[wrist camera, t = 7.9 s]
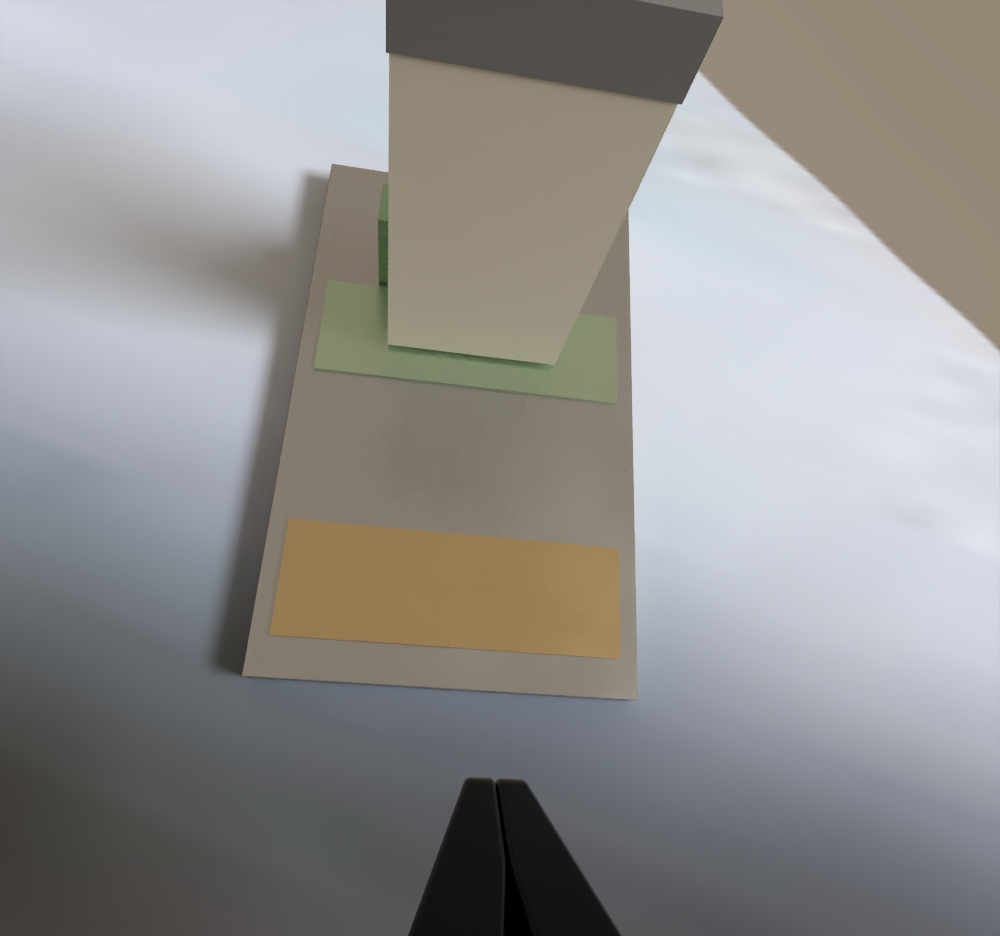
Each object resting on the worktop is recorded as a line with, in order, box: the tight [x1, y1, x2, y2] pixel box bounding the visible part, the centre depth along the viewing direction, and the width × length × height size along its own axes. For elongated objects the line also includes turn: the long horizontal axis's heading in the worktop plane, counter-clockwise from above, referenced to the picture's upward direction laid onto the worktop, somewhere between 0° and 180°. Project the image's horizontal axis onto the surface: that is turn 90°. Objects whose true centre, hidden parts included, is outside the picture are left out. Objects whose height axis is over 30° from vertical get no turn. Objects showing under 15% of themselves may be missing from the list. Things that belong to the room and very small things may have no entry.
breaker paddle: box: [386, 0, 723, 365], centre depth 16 cm, size 2×5×11 cm, turn 87°
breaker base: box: [242, 164, 638, 701], centre depth 19 cm, size 16×10×4 cm, turn 177°
